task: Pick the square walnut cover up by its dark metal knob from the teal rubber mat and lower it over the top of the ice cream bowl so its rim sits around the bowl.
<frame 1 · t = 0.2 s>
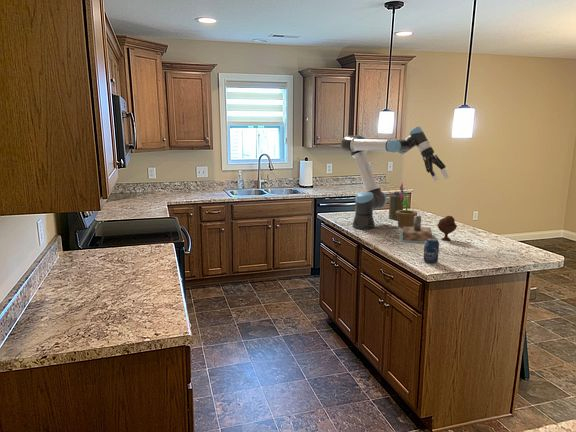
hand: (442, 179, 265), 35 cm above the worktop, tool tilted 35°, fingers open, 13 cm apart
ice cream bowl: (445, 240, 260), on the worktop
canister: (395, 218, 321), on the worktop
soda can: (430, 262, 217), on the worktop
flowerpot: (405, 227, 295), on the worktop
lid: (416, 237, 264), resting on mat
mat: (416, 238, 264), on the worktop
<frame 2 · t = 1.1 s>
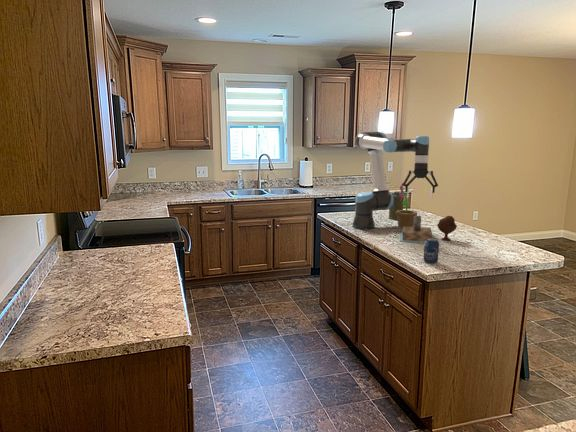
hand: (419, 197, 260), 25 cm above the worktop, tool pointing down, fingers open, 13 cm apart
nothing on the worktop moved.
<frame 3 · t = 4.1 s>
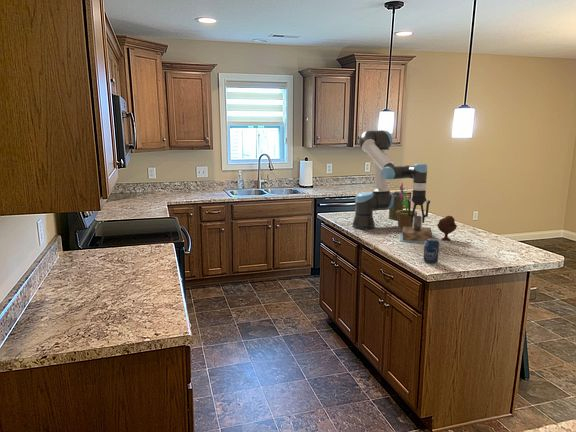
hand: (417, 227, 263), 7 cm above the worktop, tool pointing down, fingers closed on lid, 4 cm apart
lid: (416, 237, 264), resting on mat, touching gripper
everything else where it was.
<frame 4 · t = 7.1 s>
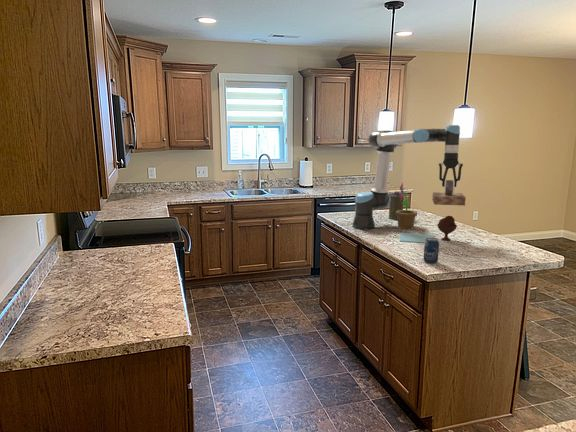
hand: (448, 192, 254), 29 cm above the worktop, tool pointing down, fingers closed on lid, 4 cm apart
lid: (448, 202, 255), point 23 cm above the worktop, touching gripper
everything else where it was.
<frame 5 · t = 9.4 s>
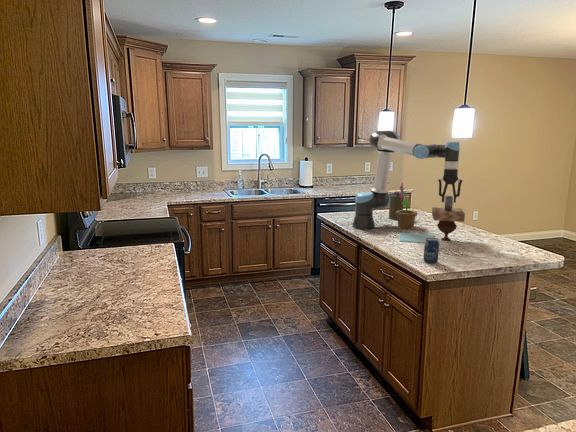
hand: (448, 207, 256), 20 cm above the worktop, tool pointing down, fingers closed on lid, 4 cm apart
lid: (447, 218, 257), point 13 cm above the worktop, touching gripper
everything else where it was.
when the fingers open (20 cm above the worktop, at t = 10.2 s): lid drops 2 cm, resting on ice cream bowl.
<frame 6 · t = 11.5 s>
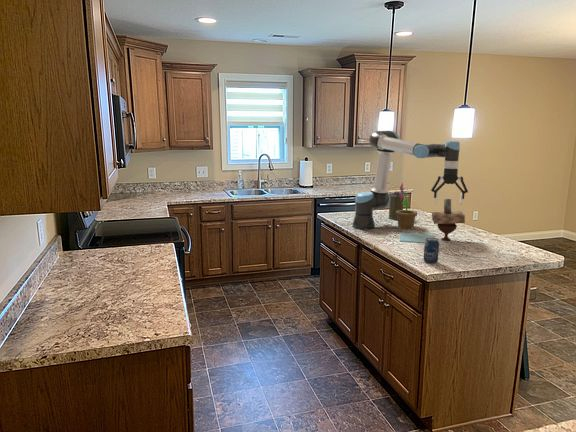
hand: (448, 204, 256), 22 cm above the worktop, tool pointing down, fingers open, 13 cm apart
ice cream bowl: (445, 240, 260), on the worktop, touching lid
lid: (447, 221, 257), point 12 cm above the worktop, tilted 5°, touching ice cream bowl
everything else where it was.
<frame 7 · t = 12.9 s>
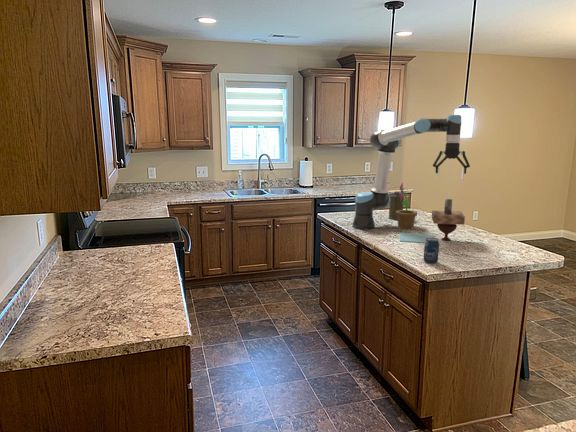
hand: (450, 179, 253), 37 cm above the worktop, tool pointing down, fingers open, 13 cm apart
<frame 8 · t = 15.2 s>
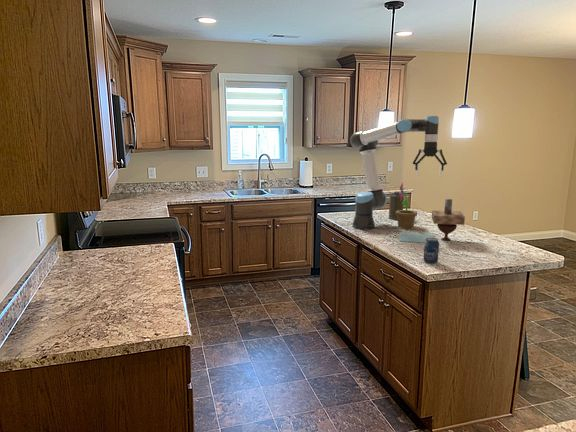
hand: (428, 175, 271), 37 cm above the worktop, tool pointing down, fingers open, 13 cm apart
nothing on the worktop moved.
at the end: lid 0.1 cm off-centre in the ice cream bowl, point 11.7 cm above the ice cream bowl's base; lid tilted 0°; ice cream bowl tilted 0° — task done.
